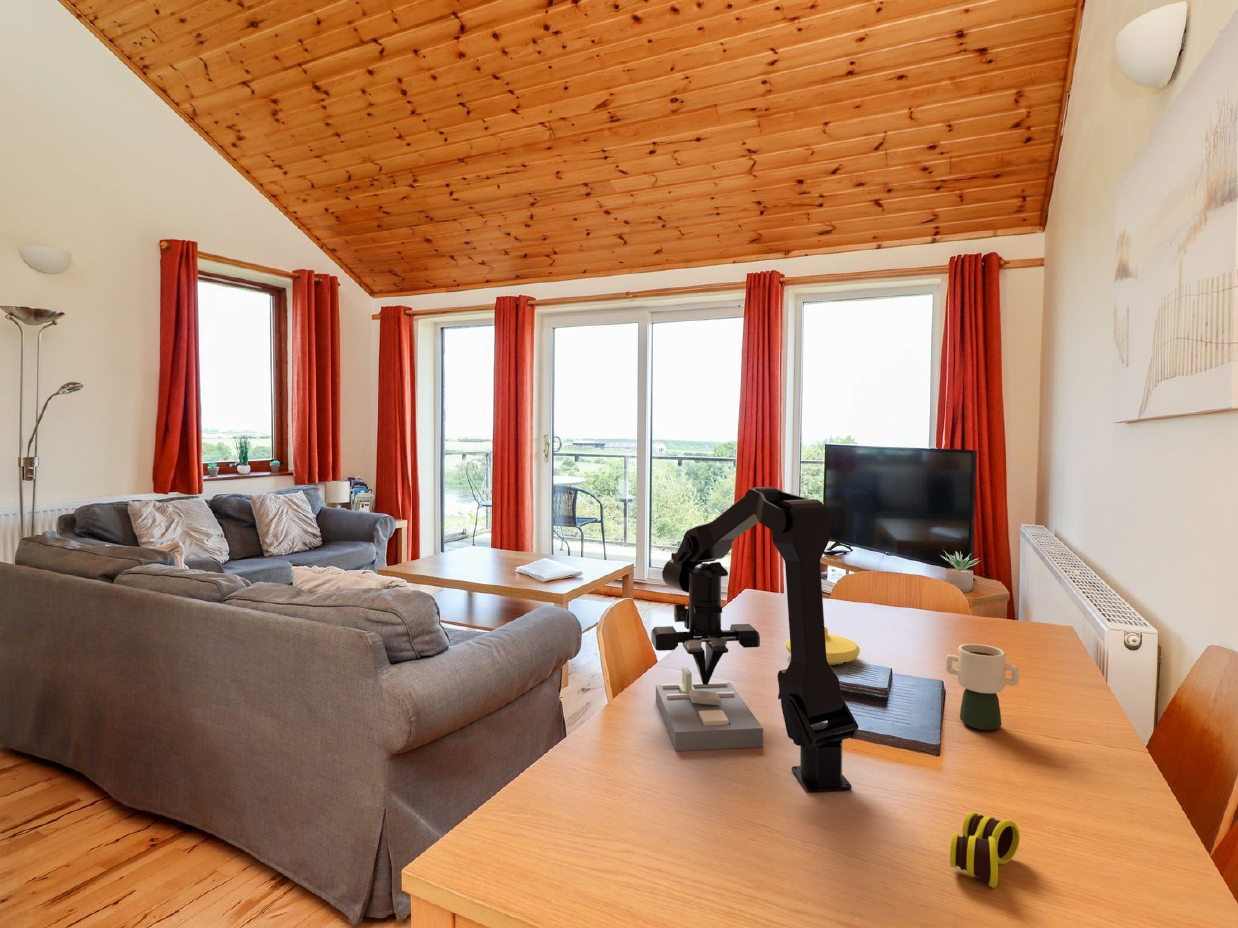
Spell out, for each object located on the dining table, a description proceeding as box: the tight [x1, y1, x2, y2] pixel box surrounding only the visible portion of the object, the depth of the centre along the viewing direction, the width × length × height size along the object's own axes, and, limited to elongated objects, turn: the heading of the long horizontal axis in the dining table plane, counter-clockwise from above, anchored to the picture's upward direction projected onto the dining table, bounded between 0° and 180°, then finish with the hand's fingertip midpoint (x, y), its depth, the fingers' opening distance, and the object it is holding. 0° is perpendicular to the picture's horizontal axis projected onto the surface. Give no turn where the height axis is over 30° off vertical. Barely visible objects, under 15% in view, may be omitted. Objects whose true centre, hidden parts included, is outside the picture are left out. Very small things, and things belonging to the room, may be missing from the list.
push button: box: [699, 710, 729, 726], centre depth 110 cm, size 4×4×3 cm
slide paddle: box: [677, 667, 695, 694], centre depth 122 cm, size 4×2×4 cm, turn 6°
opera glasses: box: [949, 810, 1021, 889], centre depth 77 cm, size 10×5×5 cm, turn 137°
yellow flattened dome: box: [785, 626, 861, 666], centre depth 149 cm, size 16×16×7 cm
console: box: [655, 681, 764, 752], centre depth 116 cm, size 20×14×4 cm
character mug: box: [945, 643, 1020, 730], centre depth 115 cm, size 11×7×13 cm, turn 54°
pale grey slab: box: [689, 690, 721, 705], centre depth 117 cm, size 3×5×1 cm
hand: (704, 683), depth 122 cm, fingers closed
